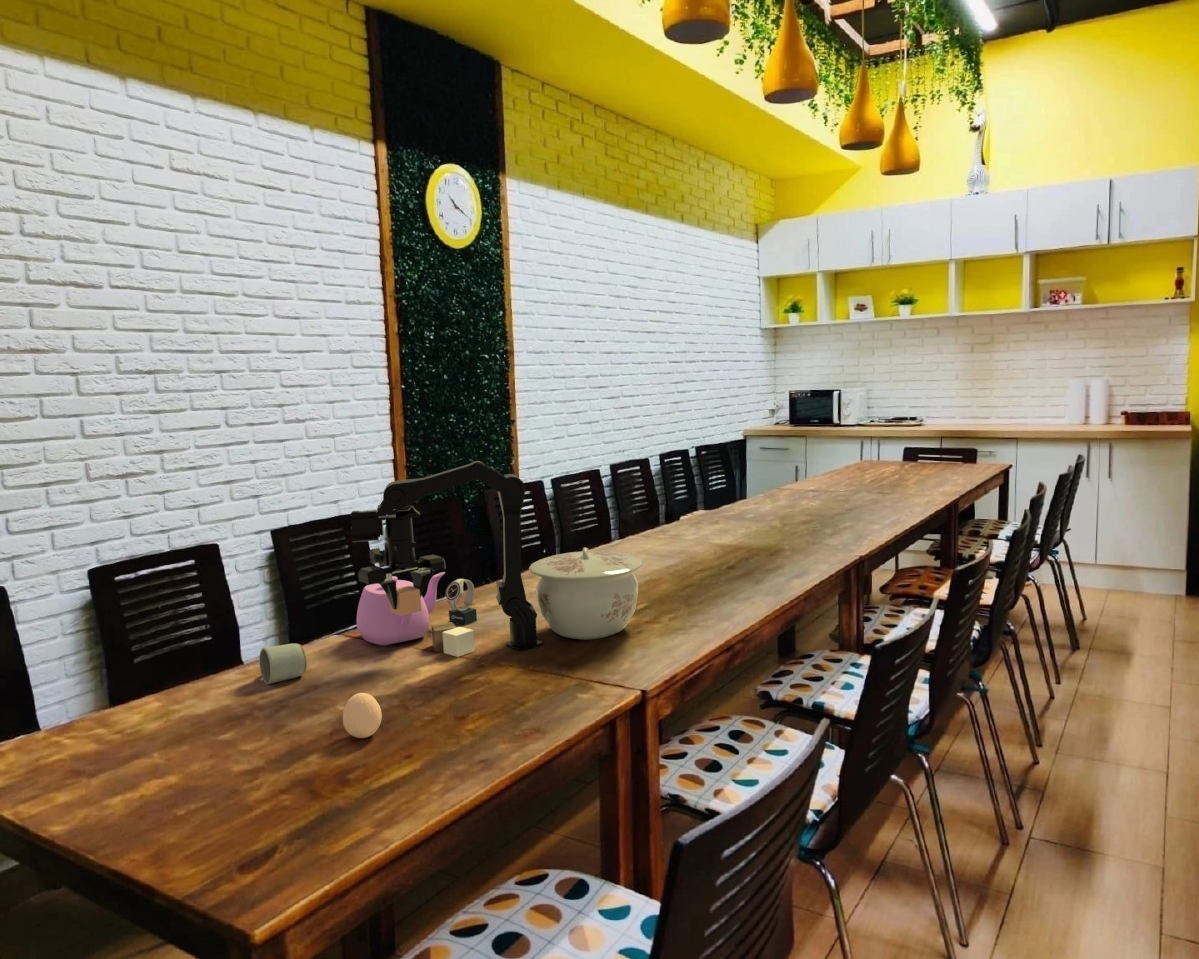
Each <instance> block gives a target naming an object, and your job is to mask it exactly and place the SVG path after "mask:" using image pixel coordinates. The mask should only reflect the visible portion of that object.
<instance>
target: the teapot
mask: <svg viewBox="0 0 1199 959" xmlns="http://www.w3.org/2000/svg"><path fill="white" fill-rule="evenodd" d="M445 574H446V572H445V571H442V572H438V573H437V574H433V576H431V578H429V582H428V585H427V591H426V594H425V595H424V597H423V595H422V596H421V598H420V599H421V611H419V612H415V613H411V614H406V615H402V616H400V615H398V614H395V613H393V612H391V607H390V601H389V599H388V597H387V595H386V593H385V591H384V589H383V588H382V586H381V585H380V584H371V585H369V584H366V586H365V587H363V589H362V592H361V595H360V597H359V602H358V606H357V612H356V629H357V631H358V633H359V634H360V636H361V637H362V639H364V641H366V642H368V643H371V644H374V645H378V646H382V647H386V646H389V645H392V644H398V643H403V642H406V641H412V640H414V641H415V640H417V639H419V638H422V637H424V636H426V634H427V632H428V631H429V628H430V625H431V622H430V614H431V613H432V611H433V610H434V609H435V606H436V603H437V589H438V583H439V581H440V580H441V578H442V577H443V576H444V575H445ZM392 580H394V581H396V588H400V587H405V586H412V587H413V581H412V582H411V581H409V580H403V579H398V577H397V576H395V575H392Z"/></svg>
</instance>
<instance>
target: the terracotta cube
mask: <svg viewBox="0 0 1199 959" xmlns="http://www.w3.org/2000/svg"><path fill="white" fill-rule="evenodd" d="M396 590H397V609H396V610H394V609H393V608H392V606H391V603H390V607H391V612H393V613H395V614H398V615H400V616H402V615H406V614H411V613H415V612H419V611H421V599H420V589H418V588H415V587H412V586H405V587H400V588H396Z"/></svg>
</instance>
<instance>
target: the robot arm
mask: <svg viewBox="0 0 1199 959" xmlns="http://www.w3.org/2000/svg"><path fill="white" fill-rule="evenodd" d="M474 481H479V482H480V483H482V484H484V485H486V486H488V487H490V489H492V490H495V491H497V495H498V498H499V504H500V507H501V508H500V510H501V511H502V512H501V513H502V526H503V527H502V528H503V530H502V531H503V532H502V534H503V535H502V536H503V537H502V538H503V539H502V540H503V576H502V580H501V581H497V580H496V582H495V583H496V587H497V595H496V596H495V598H496V600H497V602H498V605H499V606H500V607H501V609H502V611H503V613H504V614H505V615H506V616H508V617H509V635H510V636H509V637H510V641H506V642H505V646H506V647H507V646H508V647H510V648H512V649H516V650H517V651H525V650H528V649H531V648H532V649H533V648H535V647H539V646H542V645H543V644H544V643H543V641H541V640H538V635H537V634H538V633H537V630H538V629H537V617H538V614H537V612H536V610H535V608H534V606H533V604H532V603H530V601H528V600H527V597H526V592H525V591H526V590H525V586H524V582H523V579H522V561H521V560H522V557H521V554H522V553H521V552H522V551H521V513H522V510H523V506H524V500H525V496H526V486H525V484H524V481H522V479H521V478H519V477H518V476H517V475H516V474H512V473H507V474H503V473H502V472H500V471H499V470H496V469H494V468H492V467H490V466H488V465H486V464H485V463H484V462H482V461H479V460H476V461H475V460H474V461H472V462H471V463H468V464H466V465H461V466H458V467H454V468H451V469H448V470H445V471H442V472H439V473H436V474H431V475H429V476H425V477H422V478H420V477H419V478H409V479H408V478H407V479H401V480H394V481H391V482H389V483H388V484H386V486H385V488H384V491H383V495H382V501H381V502H380V504H378V505H377V508H376V510H375V509H374V510H352V511H351V512H350V516H351V517H350V520H351V521H350V522H351V523H350V524H351V526H350V537H351V541H352V543H360V542H362V543H363V542H373V541H379V539H380V537H381V536H384V521H385V531H386V542H385V543H384V550H381V549H380V547H377V548H372V549H371V548H370V549H369V560H370V563H371V564H373V565H372V566H367V567H362V568H360V569H359V571H358V574H357V575H358V582H361V583H364V584H366V585H371V584H380V585H381V586H382V588H383V589H384V591H385V593H386V595H387V597H388V599H389V601H390V603H391V606H392V608H393V609H394V610H396V609H397V590H396V581H394V580H392V576H395V575H396V576H397V575H401V574H405V573H409V574H410V575H411V578H412V583H413V587H415V588H418V589H420V598H421V596H422V597H423V593H424V591H425V589H426V588H425V587H426V585H427V584H428V583H429V582H428V581H430V579H431V578H430V577H433V576H434V572H439V571H445V570H446V568H447V567H446V561H445V559H444V557H442V556H441V555H440V556H439V555H436V554H429V555H424V556H420V557H419V558H418V560H417V559H416V554H415V548H417V547H418V546H417V545H418V544H417V542H415V540H414V530H413V529H414V527H413V519H414V518H416V519H417V518H420V516H421V513H420V511H418V510H417V509H415V507H414V505H413V504H414V503H416V502H418V501H419V500H421V499H423V498H424V497H427V496H429V495H432V494H434V493H438V492H439V493H440V492H442V491H446V490H448V489H451V488H455V487H458V486H461V485H462V486H463V485H464V484H468V483H471V482H474ZM408 506H410V507H409V508H408V509H405V508H407V507H408ZM402 509H403V510H402ZM392 511H393V512H394V511H395V512H394V513H395V514H390V513H392ZM374 564H375V565H374ZM376 564H378V566H377V565H376ZM431 570H432V571H433V572H431Z"/></svg>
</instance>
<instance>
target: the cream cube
mask: <svg viewBox="0 0 1199 959" xmlns="http://www.w3.org/2000/svg"><path fill="white" fill-rule="evenodd" d="M474 632H475V630H474V629H470V628H467V627H464V626H463V627H462V626H456V628H454V629H451V630H447V631H444V632H443V647H444V650H443V653H444V654H446V655H449V656H454V657H457V658H459V657H462V656H464V655H467V654H471V653H473V652H475V651H476V645H475V633H474Z"/></svg>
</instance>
